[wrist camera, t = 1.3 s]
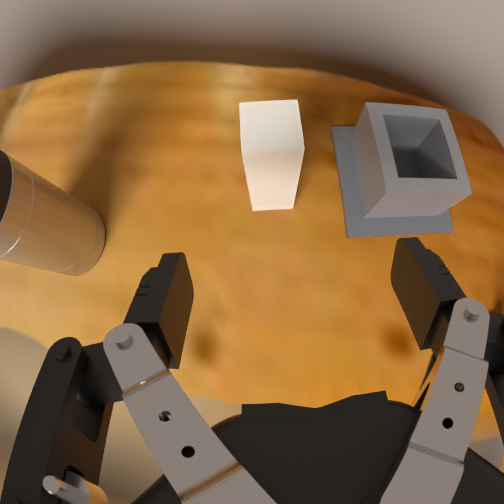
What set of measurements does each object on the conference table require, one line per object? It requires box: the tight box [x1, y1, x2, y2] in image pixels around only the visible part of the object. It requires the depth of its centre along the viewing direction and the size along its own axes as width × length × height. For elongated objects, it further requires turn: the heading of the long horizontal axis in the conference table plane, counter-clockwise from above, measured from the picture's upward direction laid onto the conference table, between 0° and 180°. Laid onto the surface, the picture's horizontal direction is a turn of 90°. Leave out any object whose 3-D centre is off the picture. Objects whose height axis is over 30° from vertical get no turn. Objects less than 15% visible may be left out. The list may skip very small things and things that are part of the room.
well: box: [330, 102, 472, 238], centre depth 31 cm, size 14×14×9 cm
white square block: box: [239, 100, 305, 211], centre depth 29 cm, size 4×4×14 cm
